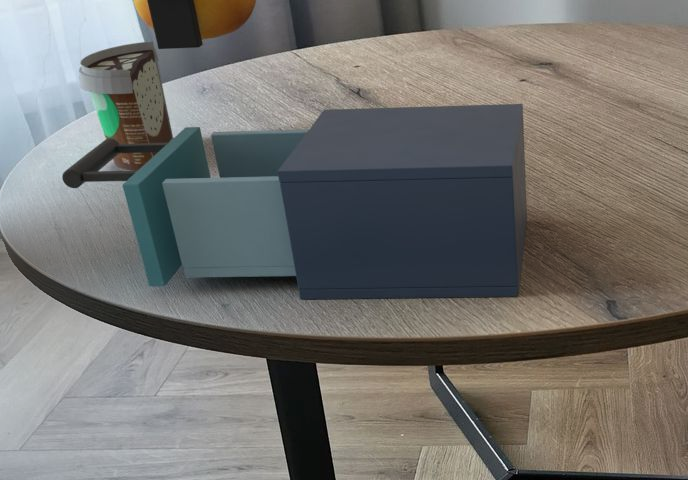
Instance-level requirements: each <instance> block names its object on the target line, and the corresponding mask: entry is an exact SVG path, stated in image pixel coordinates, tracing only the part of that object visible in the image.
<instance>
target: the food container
mask: <svg viewBox="0 0 688 480" xmlns="http://www.w3.org/2000/svg"><path fill="white" fill-rule="evenodd" d="M159 60H160V59H159V56H158V53H157V49H156V47H155V44H154V41H153V40H151V41H142V42H141V41H140V42H134V43H128V44H123V45H118V46H117V45H116V46H112V47H108V48H106V49H101V50H99V51H95V52H93V53H91V54H88V55H86V56H85V57H83V58H81V60H80V62H79V63H80V66H79V69H78V74H79V76H78V77H79V87H80V88H81V89H82V90H84V91H86V92H88V93H89V95H90V98H91V100H92V103H93V107H94V109H95V112H96V114H97V117H98V120H99V123H100V126H101V128H102V132H103V134H104V138H105V140H106V139H108V138H111V139H115V140H116V141H117V142H118V143H119V144H134V143H169V142H170V141H171V140H172V139H173V138H174V135H173V131H172V125H171V120H170V116H169V112H168V106H167V101H166V97H165V92H164V86H163V83H162V77H161V72H160V68H159V63H158V62H159ZM157 153H158V152H152V153H119V154H118V155H117V156H116V157H115V158H113V159H112V160H113V163H114V164H115V166H117V167H118V168H120V169H124V170H126V171H131V170H139V169H140V168H141V167H142V166H144V165H145V164H146V163H147V162H148V161H149V160H150V159H151V158H152V157H153V156H155V155H156V154H157Z"/></svg>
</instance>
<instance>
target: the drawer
mask: <svg viewBox="0 0 688 480" xmlns="http://www.w3.org/2000/svg"><path fill="white" fill-rule="evenodd" d="M309 129H310V128H305V129H304V128H303V129H299V128H298V129H267V130H266V129H265V130H264V129H263V130H234V131H232V130H231V131H227V130H226V131H213V132H212V134H210V138H211V143H212V147H213V152H214V157H215V161H216V166H217V170H218V171H217V172H218V175H219V177H212V176H211V172H210V168H209V167H210V166H209V163H208V158H207V154H206V149H205V144H204V139H203V135H202V131H201V127H200V126H185V127H184V128H183V129H182V130H181V131H180V132H179V133H177V134H176V136H175V137H174V136H173V139H172V140H171V141H170V142H169V143H134V144H119V143H118V142H117V141H116V140H115V139H111V138H108V139H106V138H105V139H104V140H103V141H102V142H101V143H99V144H98V145H96V146H95V147H94V148H93V149H92V150H90V151H89V152H88V153H86V154H85V155H83V156H82V157H81V158H80V159H78V160H77V161H76V162H74V163H73V164H72V165H71V166H70V167H68V168H67V169H66V170H64V172H63V173H62V177H61V178H62V182H63V183H64V184H65V185H66V187H68V188H70V189H79V188H80V187H81V186H82V185H83V184H85V183H93V182H95V183H97V182H100V183H101V182H123V183H122V185H121V186H122V190H123V193H124V197H125V202H126V205H127V209H128V212H129V217H130V220H131V223H132V227H133V231H134V234H135V238H136V242H137V245H138V249H139V253H140V257H141V261H142V264H143V268H144V272H145V275H146V280H147V283H148V286H149V287H165V286H166V285H167V284H168V283H169V282H170V280H171V279H172V278H173V276H174V275H175V274H176V273H177V272H178V270H180V268H181V267H182V270H183V274H184V278H187V279H188V278H246V277H247V278H250V277H251V278H252V277H255V278H256V277H296V272H295V266H294V261H293V255H292V249H291V244H290V238H289V233H288V227H287V221H286V216H285V210H284V205H283V199H282V193H281V188H280V182H279V177H278V170H279V169H280V168H281V166H282V165H283V164H284V162H285V161H286V160H287V158H288V157H289V156H290V154H291V153H292V152H293V150H294V149H295V148H296V146H297V145H298V144H299V142H300V141H301V140H302V138H303V137H304V136H305V134H306V133H307V132H308V130H309ZM152 152H158V153H157V154H156V155H155V156H153V157H152V158H151V159H150V160H149V161H148V162H147V163H146V164H145V165H144V166H142V167H141V168H140V169H139V170H102V169H103V168H104V167H106V166H107V165H108V164H109V163H110V162H112V160H113V158H115V157H116V156H117V155H118V154H119V153H152Z"/></svg>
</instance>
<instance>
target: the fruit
mask: <svg viewBox="0 0 688 480" xmlns="http://www.w3.org/2000/svg"><path fill="white" fill-rule="evenodd" d="M132 1H133V5H134V7H135V9H136V11H137V13H138V15H139V16H140V18H141V19H142V21H143V22H144V23H145V24H146V25H147V26H148V27H149V28H150V29H152V30H153V31H154V28H153V23H152V19H151V15H150V10H149V6H148V2H147V0H132ZM256 3H257V0H194V4H195V9H196V14H197V19H198V24H199V28H200V33H201V38H202V41H203V40H208V39H209V40H210V39H215V38H219V37H221V36H226V35H228V34H232V33H234V32H235V31H237V30H240V28H241V27H243V26H244V25H245V24H246V23H247V21H248V20H249V18H250V17H251V16H252V13H253V12H254V9H255V7H256Z"/></svg>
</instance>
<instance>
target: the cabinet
mask: <svg viewBox="0 0 688 480" xmlns="http://www.w3.org/2000/svg"><path fill="white" fill-rule="evenodd" d="M308 129H309V130H308V132H307V133H306V134H305V136H304V137H303V138H302V140H301V141H300V142H299V144H298V145H297V146H296V148H295V149H294V150H293V152H292V153H291V154H290V156H289V157H288V158H287V160H286V161H285V162H284V164H283V165H282V166H281V168H280V169H279V170H278V177H279V182H280V188H281V193H282V199H283V205H284V210H285V216H286V221H287V227H288V233H289V238H290V244H291V249H292V255H293V261H294V266H295V272H296V276H295V278H296V282H297V289H298V295H299V299H300V300H348V299H349V300H355V299H356V300H357V299H361V300H362V299H364V300H365V299H427V298H428V299H429V298H431V299H433V298H435V299H437V298H441V299H443V298H507V297H509V298H513V297H515V298H516V297H517V298H518V297H519V296H520V295H519V294H520V286H521V285H520V284H521V278H522V277H521V276H522V269H523V268H522V267H523V258H524V252H525V251H524V250H525V243H526V242H525V241H526V231H527V224H528V204H527V180H526V179H527V178H526V157H525V156H526V153H525V152H526V151H525V129H524V104H523V103H505V104H504V103H502V104H499V103H498V104H471V105H467V104H466V105H439V106H437V105H435V106H404V107H403V106H402V107H400V106H399V107H372V108H371V107H370V108H367V107H366V108H333V109H323V110H322V112H321V113H320V114H319V116H317V118H316V120H314V122H313V124H312V125H311V126H310V127H309V128H308Z"/></svg>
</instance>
